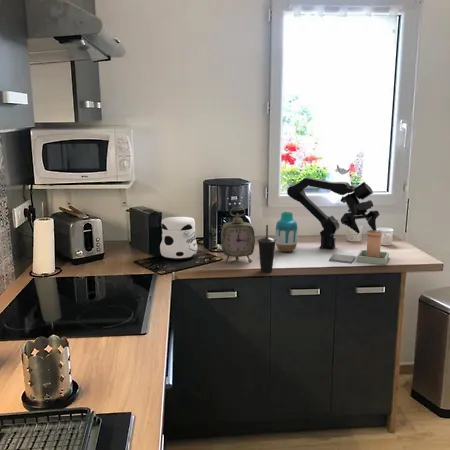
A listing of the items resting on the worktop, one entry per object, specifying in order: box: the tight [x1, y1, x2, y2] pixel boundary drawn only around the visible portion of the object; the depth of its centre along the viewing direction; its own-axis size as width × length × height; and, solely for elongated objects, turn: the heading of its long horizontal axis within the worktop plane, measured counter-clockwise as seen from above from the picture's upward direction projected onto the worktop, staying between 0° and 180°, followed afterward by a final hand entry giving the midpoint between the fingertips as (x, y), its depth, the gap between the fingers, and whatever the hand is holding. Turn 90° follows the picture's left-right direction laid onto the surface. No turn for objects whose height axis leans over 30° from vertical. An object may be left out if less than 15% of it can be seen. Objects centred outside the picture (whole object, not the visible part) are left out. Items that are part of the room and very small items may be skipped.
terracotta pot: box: [365, 229, 384, 258], centre depth 231 cm, size 7×7×13 cm
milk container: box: [159, 216, 198, 261], centre depth 236 cm, size 17×17×18 cm
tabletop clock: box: [220, 206, 256, 264], centre depth 228 cm, size 14×9×25 cm, turn 95°
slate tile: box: [328, 253, 356, 264], centre depth 233 cm, size 10×10×1 cm
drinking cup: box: [257, 224, 276, 274], centre depth 213 cm, size 8×8×20 cm
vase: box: [274, 211, 298, 253], centre depth 246 cm, size 11×11×19 cm
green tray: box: [356, 249, 390, 265], centre depth 232 cm, size 13×13×2 cm
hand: (367, 232), depth 235 cm, fingers open, 9 cm apart
